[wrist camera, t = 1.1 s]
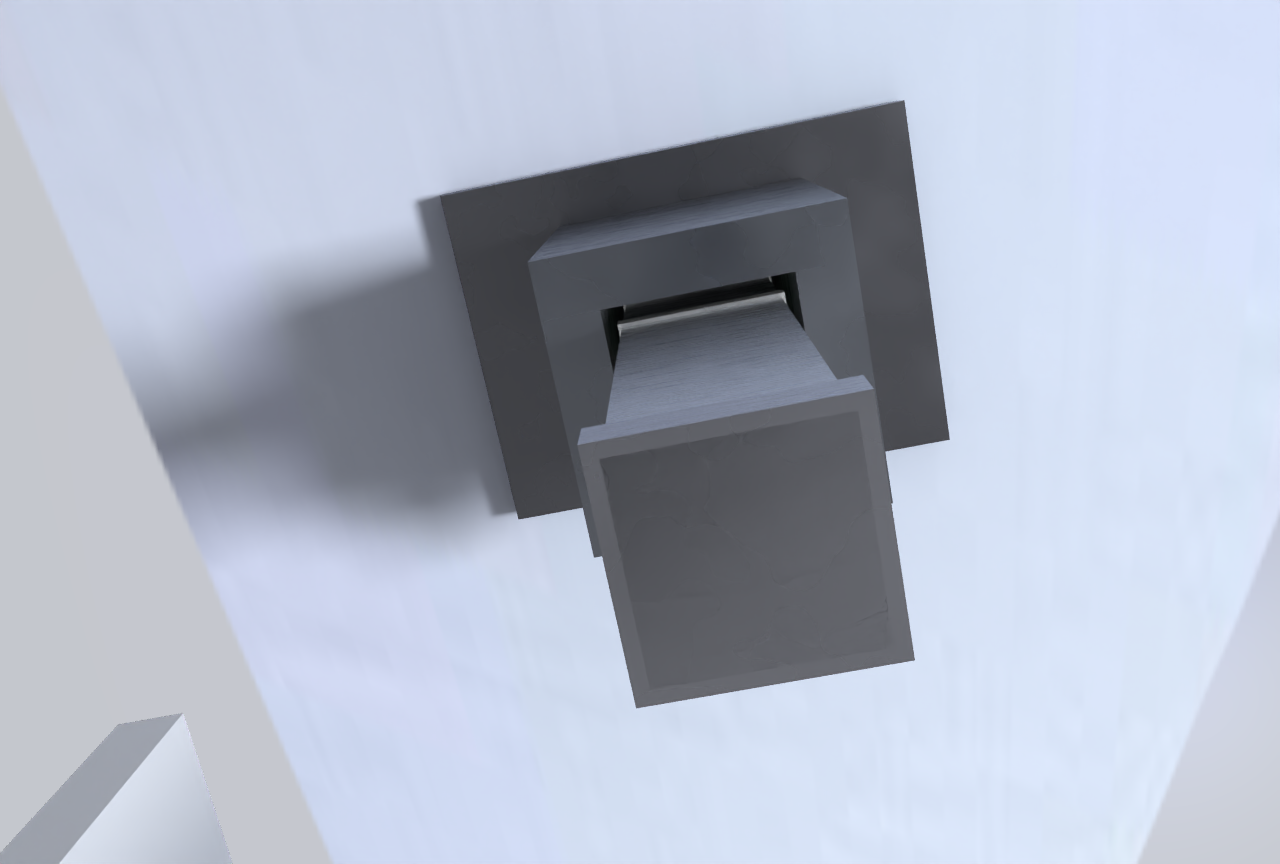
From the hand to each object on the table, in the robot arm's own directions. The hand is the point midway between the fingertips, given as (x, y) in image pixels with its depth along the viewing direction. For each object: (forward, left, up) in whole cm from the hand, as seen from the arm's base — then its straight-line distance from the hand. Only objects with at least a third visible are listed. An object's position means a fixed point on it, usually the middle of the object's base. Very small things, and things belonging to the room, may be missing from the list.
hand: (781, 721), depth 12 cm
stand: (+1, 0, -30) cm, 30 cm away
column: (+1, 0, -28) cm, 28 cm away
